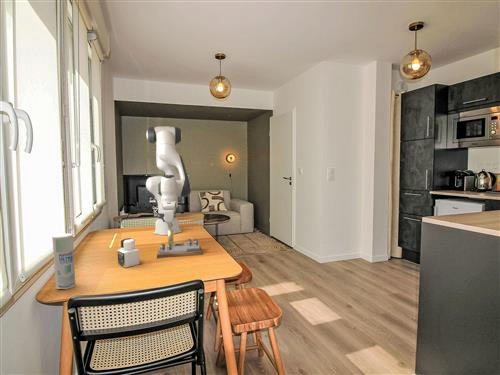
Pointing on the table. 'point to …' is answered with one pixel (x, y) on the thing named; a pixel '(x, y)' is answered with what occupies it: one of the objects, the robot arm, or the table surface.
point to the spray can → (64, 260)
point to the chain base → (179, 254)
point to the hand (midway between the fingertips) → (170, 228)
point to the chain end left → (169, 249)
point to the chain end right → (187, 245)
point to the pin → (170, 237)
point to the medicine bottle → (128, 253)
